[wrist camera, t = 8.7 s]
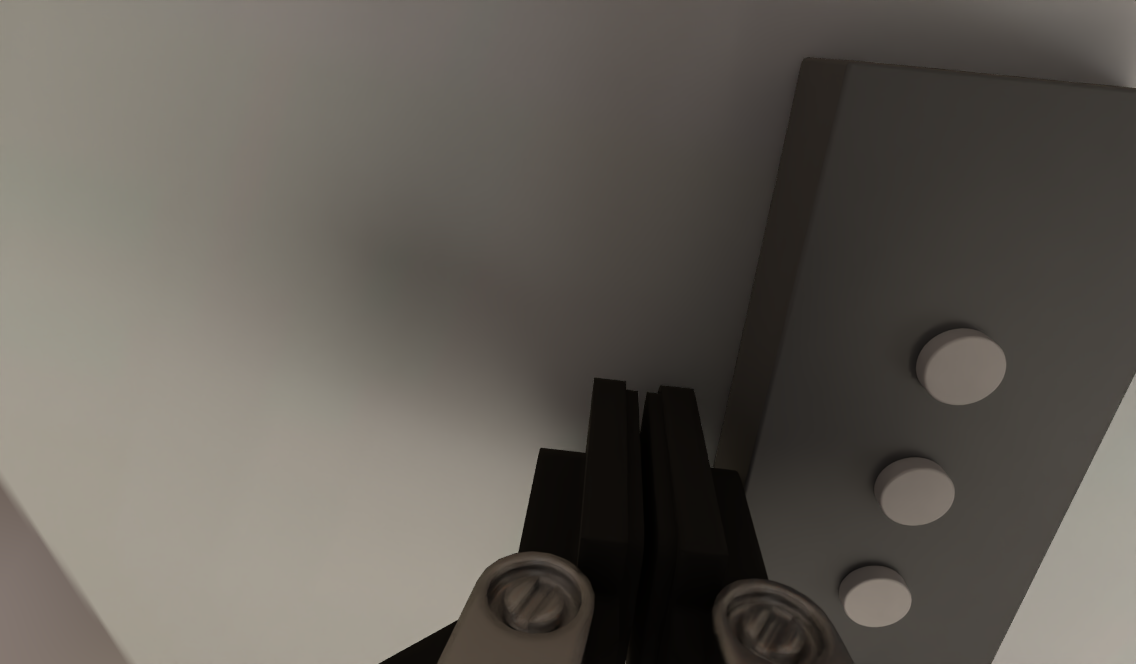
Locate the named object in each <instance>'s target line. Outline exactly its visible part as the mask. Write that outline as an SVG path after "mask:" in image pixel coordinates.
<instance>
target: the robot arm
mask: <svg viewBox="0 0 1136 664" xmlns="http://www.w3.org/2000/svg"><path fill="white" fill-rule="evenodd" d="M625 663H626V664H855V663H854V661H853V659H852V658H851V656H850V654H849V652H848V650H847V648H846V646H845V645H844V643H843V641H842V639H841V637H840V635H839V634H838V632H837V630H836V628H835V626H834V624H833V623H832V622H831V620H830V619H829V617H828V616H827V615H826V613H825V612H824V611H823V609H822V608H820V607H819V606H818V605H817V604H816V603H815V602H814V601H812V600H811V599H810V598H809V597H808V596H806V595H804V594H803V593H801V592H799V591H797V590H796V589H794V588H792V587H790V586H787V585H784V584H782V583H779V582H776V581H773V580H769V579H768V576H767V572H766V568H765V565H764V561H763V557H762V554H761V550H760V547H759V543H758V539H757V536H756V532H755V529H754V525H753V521H752V518H751V514H750V510H749V507H748V503H747V500H746V496H745V492H744V489H743V485H742V482H741V478H740V476H739V473H738V472H737V471H736V470H729V469H720V468H712V467H710V463H709V459H708V454H707V449H706V444H705V440H704V435H703V430H702V425H701V421H700V416H699V411H698V407H697V402H696V397H695V392H694V389H691V388H682V387H673V386H664V385H660V387H659V391H658V393H651V392H647V394H646V398H645V405H644V411H643V418H642V424H641V431H640V426H639V404H638V391H634V390H626V381H620V380H611V379H602V378H594V383H593V391H592V400H591V409H590V417H589V426H588V435H587V444H586V452H585V453H582V452H573V451H564V450H556V449H547V448H540V451H539V455H538V460H537V464H536V469H535V474H534V479H533V484H532V489H531V494H530V498H529V503H528V508H527V513H526V518H525V523H524V528H523V533H522V537H521V542H520V547H519V552H518V553H514V554H512V555H509V556H506V557H503V558H501V559H498V560H497V561H496V562H494V563H493V564H491V565H490V566H489V567H487V568H486V569H485V571H484V572H483V573H482V575H481V576H480V577H479V579H478V580H477V582H476V584H475V586H474V588H473V590H472V592H471V594H470V596H469V598H468V601H467V603H466V605H465V607H464V609H463V611H462V613H461V615H460V617H459V619H458V620H457V621H455V622H453V623H451V624H450V625H448V626H446V627H444V628H442V629H441V630H439V631H437V632H435V633H433V634H432V635H430V636H428V637H426V638H424V639H423V640H421V641H419V642H417V643H415V644H413V645H412V646H410V647H408V648H406V649H404V650H403V651H401V652H399V653H397V654H395V655H394V656H392V657H390V658H388V659H386V660H385V661H383V662H381V663H379V664H625Z"/></svg>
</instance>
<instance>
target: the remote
mask: <svg viewBox="0 0 1136 664" xmlns="http://www.w3.org/2000/svg"><path fill="white" fill-rule="evenodd" d="M1135 373H1136V88H1129V87H1118V86H1108V85H1098V84H1088V83H1078V82H1068V81H1058V80H1047V79H1037V78H1027V77H1017V76H1007V75H997V74H987V73H977V72H966V71H956V70H946V69H936V68H926V67H916V66H906V65H895V64H885V63H875V62H865V61H855V60H841V59H826V58H810V57H807V58H804V59H803V61H802V64H801V68H800V73H799V77H798V82H797V87H796V91H795V96H794V100H793V105H792V110H791V114H790V119H789V123H788V128H787V133H786V137H785V142H784V146H783V151H782V156H781V160H780V165H779V169H778V174H777V179H776V183H775V188H774V192H773V197H772V202H771V206H770V211H769V215H768V220H767V225H766V229H765V234H764V238H763V243H762V248H761V252H760V257H759V261H758V266H757V271H756V275H755V280H754V284H753V289H752V294H751V298H750V303H749V307H748V312H747V317H746V321H745V326H744V330H743V335H742V340H741V344H740V349H739V353H738V358H737V363H736V367H735V372H734V376H733V381H732V386H731V390H730V395H729V399H728V404H727V409H726V413H725V418H724V422H723V427H722V432H721V436H720V441H719V445H718V450H717V455H716V459H715V464H714V468H720V469H729V470H736V471H737V472H738V473H739V476H740V478H741V482H742V485H743V489H744V492H745V496H746V500H747V503H748V507H749V510H750V514H751V518H752V521H753V525H754V529H755V532H756V536H757V539H758V543H759V547H760V550H761V554H762V557H763V561H764V565H765V568H766V572H767V576H768V579H769V580H773V581H776V582H779V583H782V584H784V585H787V586H790V587H792V588H794V589H796V590H797V591H799V592H801V593H803V594H804V595H806V596H808V597H809V598H810V599H811V600H812V601H814V602H815V603H816V604H817V605H818V606H819V607H820V608H822V609H823V611H824V612H825V613H826V615H827V616H828V617H829V619H830V620H831V622H832V623H833V624H834V626H835V628H836V630H837V632H838V634H839V635H840V637H841V639H842V641H843V643H844V645H845V646H846V648H847V650H848V652H849V654H850V656H851V658H852V659H853V661H854V663H855V664H991V663H992V661H993V659H994V657H995V655H996V653H997V651H998V649H999V647H1000V645H1001V643H1002V641H1003V639H1004V637H1005V635H1006V633H1007V631H1008V629H1009V627H1010V625H1011V623H1012V621H1013V619H1014V617H1015V615H1016V613H1017V611H1018V609H1019V607H1020V605H1021V603H1022V601H1023V599H1024V597H1025V595H1026V593H1027V591H1028V589H1029V587H1030V585H1031V582H1032V580H1033V578H1034V576H1035V574H1036V572H1037V570H1038V568H1039V566H1040V564H1041V562H1042V560H1043V558H1044V556H1045V554H1046V552H1047V550H1048V548H1049V546H1050V544H1051V542H1052V540H1053V538H1054V536H1055V534H1056V532H1057V530H1058V528H1059V526H1060V524H1061V522H1062V520H1063V518H1064V516H1065V514H1066V512H1067V510H1068V508H1069V506H1070V504H1071V502H1072V500H1073V498H1074V496H1075V494H1076V492H1077V490H1078V488H1079V486H1080V484H1081V482H1082V480H1083V478H1084V476H1085V474H1086V472H1087V470H1088V468H1089V466H1090V464H1091V462H1092V459H1093V457H1094V455H1095V453H1096V451H1097V449H1098V447H1099V445H1100V443H1101V441H1102V439H1103V437H1104V435H1105V433H1106V431H1107V429H1108V427H1109V425H1110V423H1111V421H1112V419H1113V417H1114V415H1115V413H1116V411H1117V409H1118V407H1119V405H1120V403H1121V401H1122V399H1123V397H1124V395H1125V393H1126V391H1127V389H1128V387H1129V385H1130V383H1131V381H1132V379H1133V377H1134V375H1135Z"/></svg>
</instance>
